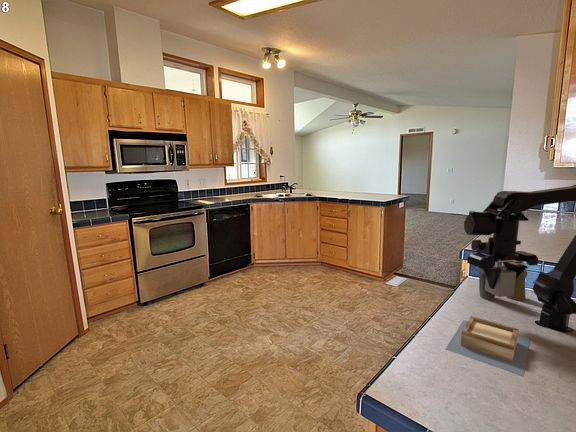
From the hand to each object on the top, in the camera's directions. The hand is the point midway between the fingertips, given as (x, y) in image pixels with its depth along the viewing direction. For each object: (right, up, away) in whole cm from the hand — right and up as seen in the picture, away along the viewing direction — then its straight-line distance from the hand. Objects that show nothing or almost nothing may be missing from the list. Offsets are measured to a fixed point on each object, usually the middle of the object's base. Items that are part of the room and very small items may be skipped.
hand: (499, 287), depth 91 cm
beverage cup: (+10, -9, +21) cm, 25 cm away
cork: (+20, -9, +21) cm, 31 cm away
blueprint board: (-9, -13, -10) cm, 19 cm away
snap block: (0, -2, 0) cm, 2 cm away
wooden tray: (-9, -12, -10) cm, 18 cm away
